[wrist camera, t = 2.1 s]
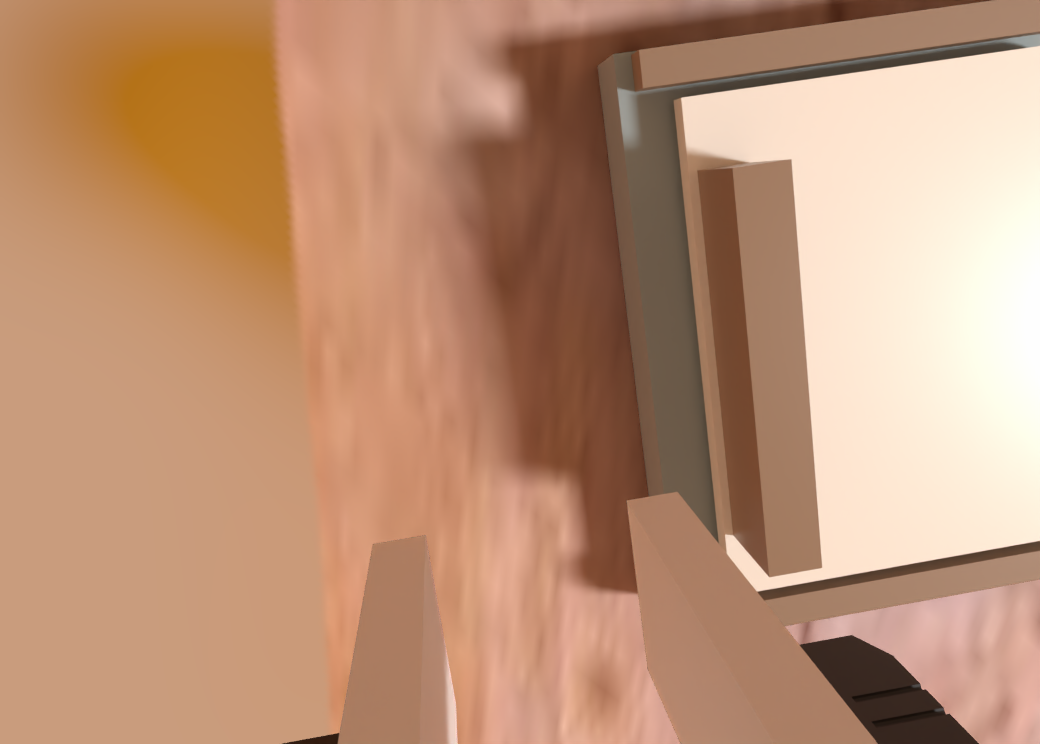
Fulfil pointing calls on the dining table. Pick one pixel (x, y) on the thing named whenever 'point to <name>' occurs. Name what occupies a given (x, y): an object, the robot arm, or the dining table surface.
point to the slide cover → (869, 313)
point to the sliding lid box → (667, 273)
